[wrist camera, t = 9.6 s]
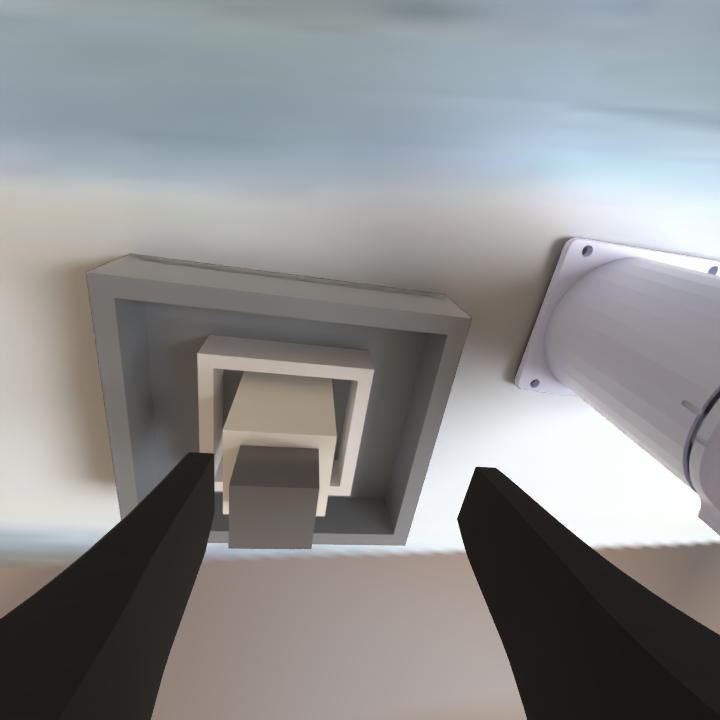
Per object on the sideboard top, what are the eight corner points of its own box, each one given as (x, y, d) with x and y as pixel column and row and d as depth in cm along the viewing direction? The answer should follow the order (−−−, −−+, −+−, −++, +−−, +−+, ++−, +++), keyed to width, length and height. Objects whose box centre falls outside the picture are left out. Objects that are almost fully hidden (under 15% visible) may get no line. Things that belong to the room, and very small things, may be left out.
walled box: (444, 294, 18) (471, 318, 15) (392, 496, 24) (405, 545, 20) (130, 253, 16) (85, 271, 13) (152, 487, 21) (124, 541, 18)
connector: (331, 373, 18) (340, 474, 12) (322, 440, 20) (326, 560, 14) (245, 366, 18) (208, 469, 11) (244, 436, 19) (210, 560, 13)
